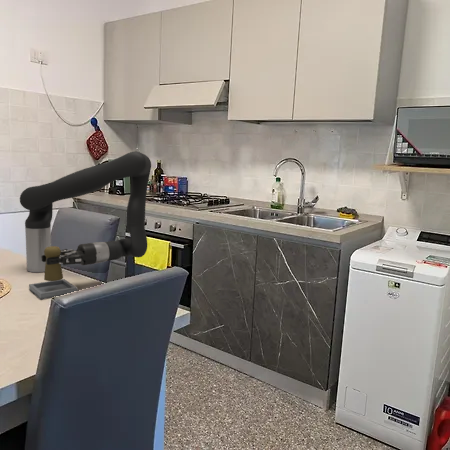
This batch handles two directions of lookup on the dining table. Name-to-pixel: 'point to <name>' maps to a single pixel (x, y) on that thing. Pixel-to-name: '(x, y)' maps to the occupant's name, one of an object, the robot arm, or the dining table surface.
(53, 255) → the cork
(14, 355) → the dining table surface
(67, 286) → the tray
